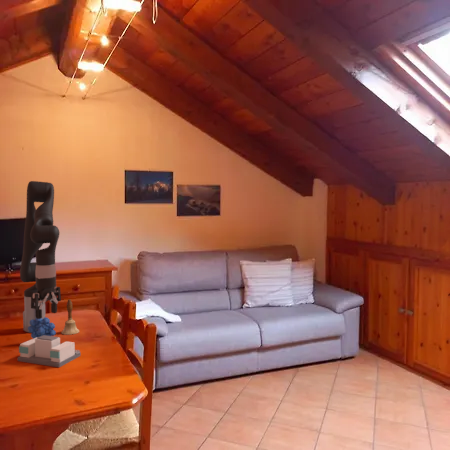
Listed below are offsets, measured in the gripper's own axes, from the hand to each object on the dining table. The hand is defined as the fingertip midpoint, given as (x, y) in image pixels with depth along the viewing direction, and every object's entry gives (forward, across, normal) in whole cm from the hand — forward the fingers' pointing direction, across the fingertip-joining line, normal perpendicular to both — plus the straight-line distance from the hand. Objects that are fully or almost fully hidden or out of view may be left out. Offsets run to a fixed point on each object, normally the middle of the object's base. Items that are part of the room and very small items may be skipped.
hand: (46, 315), depth 176 cm
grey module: (+16, 0, 0) cm, 16 cm away
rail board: (+18, -1, 0) cm, 18 cm away
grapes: (+18, -15, -16) cm, 28 cm away
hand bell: (+18, -32, -14) cm, 39 cm away
